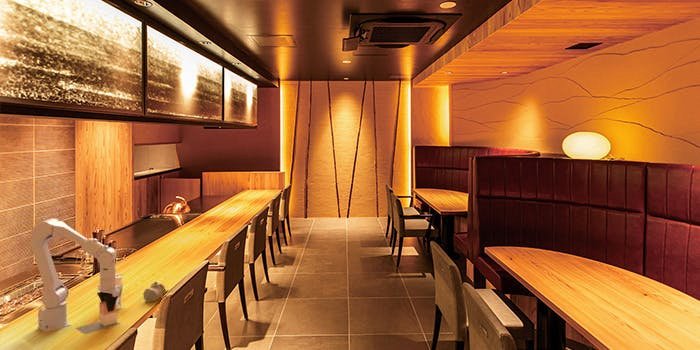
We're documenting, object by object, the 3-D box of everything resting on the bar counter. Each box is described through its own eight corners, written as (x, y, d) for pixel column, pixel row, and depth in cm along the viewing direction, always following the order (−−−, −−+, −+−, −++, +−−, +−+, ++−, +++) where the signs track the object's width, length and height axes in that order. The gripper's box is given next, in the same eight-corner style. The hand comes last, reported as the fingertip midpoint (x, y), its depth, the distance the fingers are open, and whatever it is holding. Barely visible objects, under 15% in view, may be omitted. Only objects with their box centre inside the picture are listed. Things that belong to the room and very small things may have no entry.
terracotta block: (103, 315, 189) (103, 304, 189) (99, 313, 192) (99, 302, 191) (116, 312, 193) (116, 301, 193) (112, 309, 196) (111, 299, 195)
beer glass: (107, 306, 213) (106, 274, 212) (123, 304, 216) (123, 273, 215) (105, 311, 207) (104, 278, 206) (122, 309, 209) (121, 277, 208)
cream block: (104, 326, 190) (104, 315, 189) (100, 323, 192) (100, 313, 192) (116, 322, 194) (116, 312, 193) (112, 320, 196) (112, 309, 196)
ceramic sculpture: (137, 284, 218) (156, 277, 233) (136, 302, 219) (155, 294, 233) (157, 286, 216) (175, 279, 231) (156, 304, 217) (174, 296, 231)
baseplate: (84, 335, 182) (84, 334, 182) (75, 329, 187) (75, 328, 187) (120, 324, 192) (120, 323, 192) (111, 319, 198) (111, 318, 198)
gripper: (125, 279, 190) (126, 311, 191) (109, 272, 199) (110, 303, 200) (108, 282, 185) (108, 316, 186) (92, 275, 194) (93, 307, 195)
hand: (108, 309), depth 193 cm, fingers closed on terracotta block, 4 cm apart
